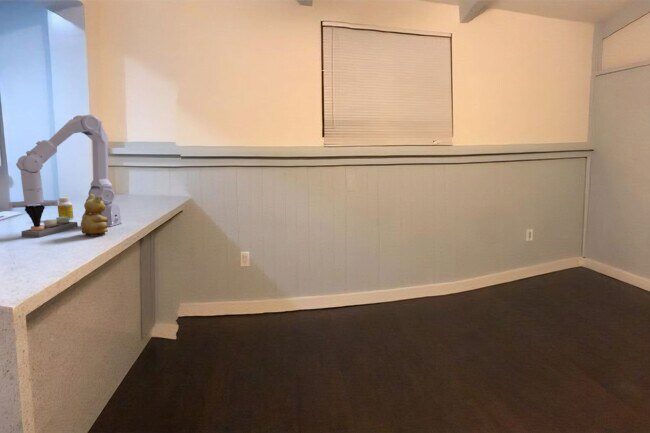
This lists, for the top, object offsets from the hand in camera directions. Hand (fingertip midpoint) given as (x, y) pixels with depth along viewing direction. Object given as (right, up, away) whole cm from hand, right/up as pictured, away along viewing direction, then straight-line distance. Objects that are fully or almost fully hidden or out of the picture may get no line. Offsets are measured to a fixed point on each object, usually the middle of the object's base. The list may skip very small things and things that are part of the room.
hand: (37, 226), depth 145 cm
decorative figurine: (+20, -3, +1) cm, 21 cm away
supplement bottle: (-9, +2, +31) cm, 32 cm away
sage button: (+2, +1, +12) cm, 12 cm away
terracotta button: (0, -2, 0) cm, 2 cm away
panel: (+1, -2, +6) cm, 7 cm away
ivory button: (+1, 0, +6) cm, 6 cm away
